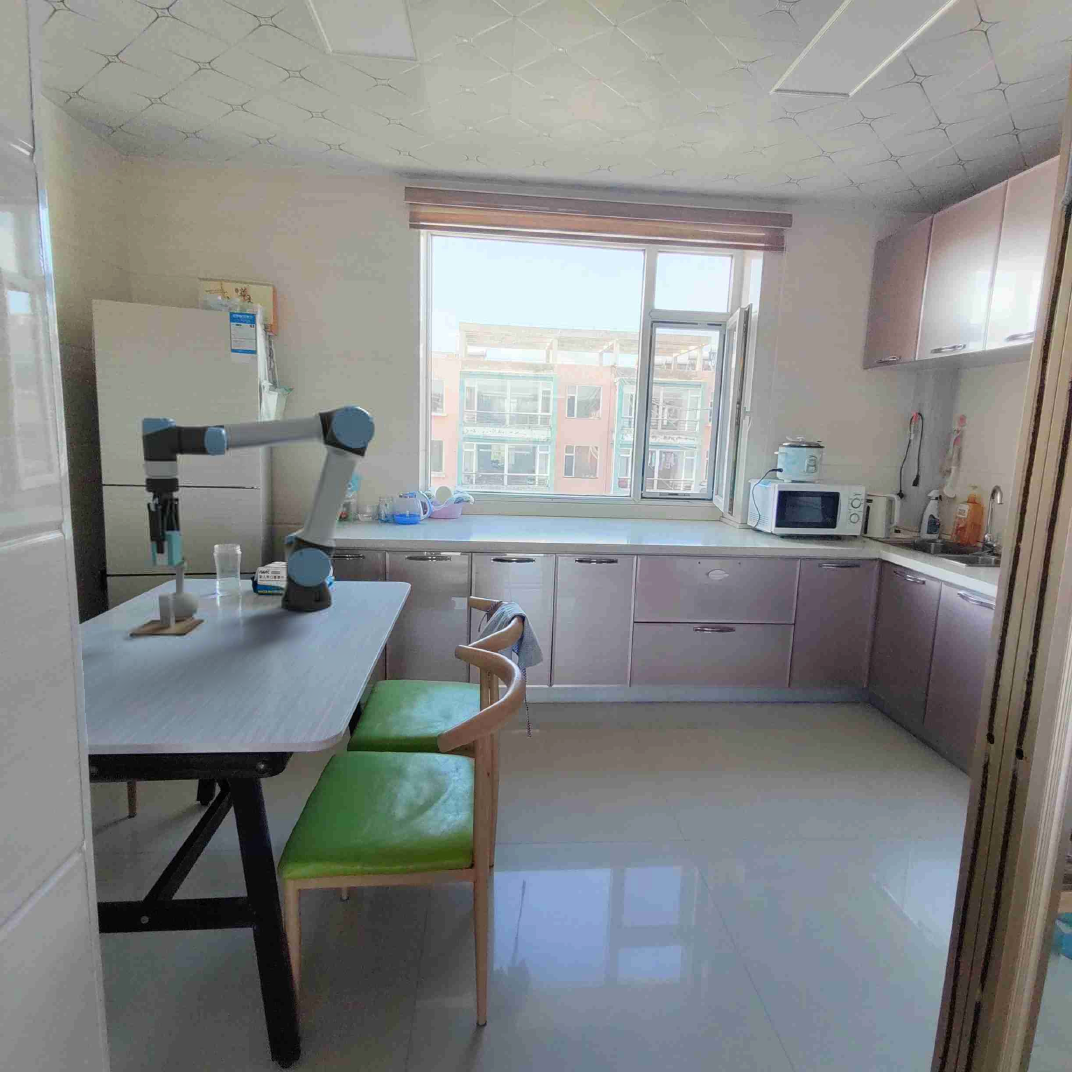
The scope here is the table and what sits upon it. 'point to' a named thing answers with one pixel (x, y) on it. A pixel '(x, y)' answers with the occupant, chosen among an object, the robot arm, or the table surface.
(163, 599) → the post
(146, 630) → the board
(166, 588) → the table surface
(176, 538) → the teal boxy block
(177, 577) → the potion bottle
